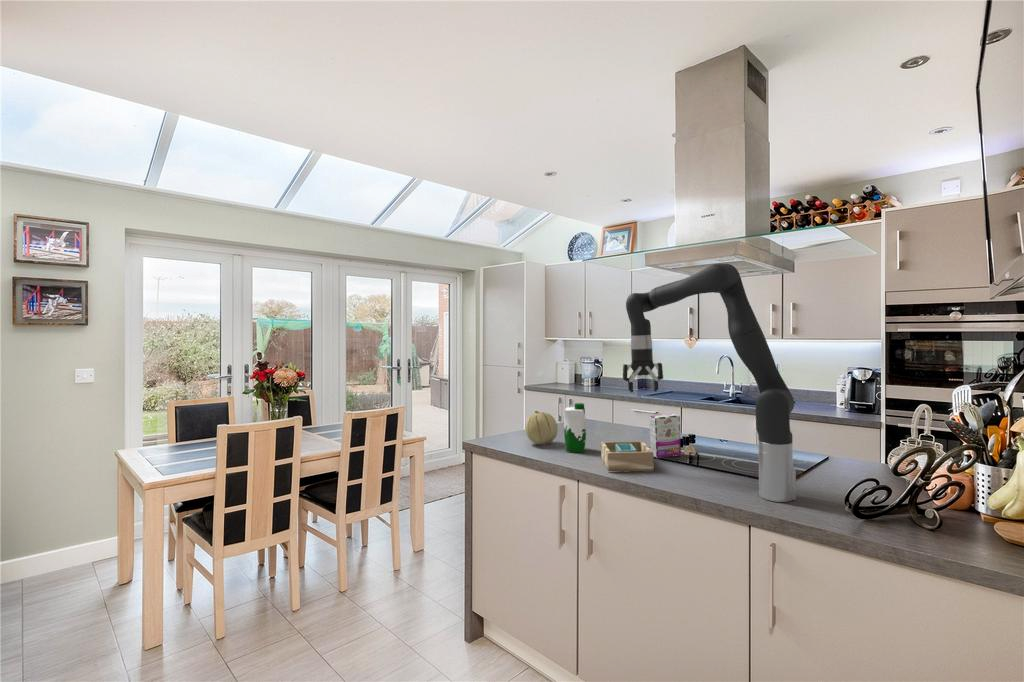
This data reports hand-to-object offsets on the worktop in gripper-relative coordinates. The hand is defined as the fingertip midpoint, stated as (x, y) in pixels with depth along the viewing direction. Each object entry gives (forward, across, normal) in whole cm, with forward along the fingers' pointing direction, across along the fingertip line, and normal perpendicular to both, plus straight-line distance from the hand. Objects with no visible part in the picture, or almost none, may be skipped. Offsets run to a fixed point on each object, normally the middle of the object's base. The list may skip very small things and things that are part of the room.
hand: (643, 391), depth 189 cm
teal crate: (+28, -6, +6) cm, 29 cm away
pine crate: (+28, -6, +6) cm, 30 cm away
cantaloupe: (+28, -37, +42) cm, 63 cm away
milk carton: (+28, -23, +30) cm, 47 cm away
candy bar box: (+29, +12, +18) cm, 36 cm away
